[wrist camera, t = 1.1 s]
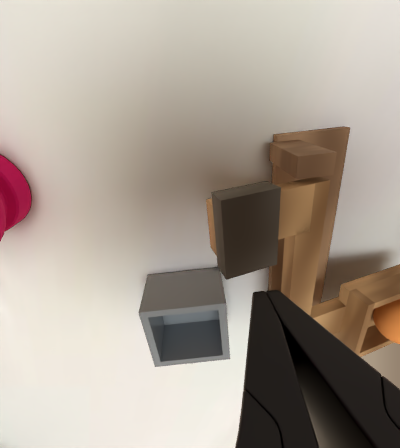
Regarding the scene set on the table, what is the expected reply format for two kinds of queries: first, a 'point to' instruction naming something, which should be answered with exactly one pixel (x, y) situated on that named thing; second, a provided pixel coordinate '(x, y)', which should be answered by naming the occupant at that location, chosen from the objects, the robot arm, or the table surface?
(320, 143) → the frame
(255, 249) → the catapult lever
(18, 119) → the table surface
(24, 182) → the pepper mill
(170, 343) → the grey open box
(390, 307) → the ball
